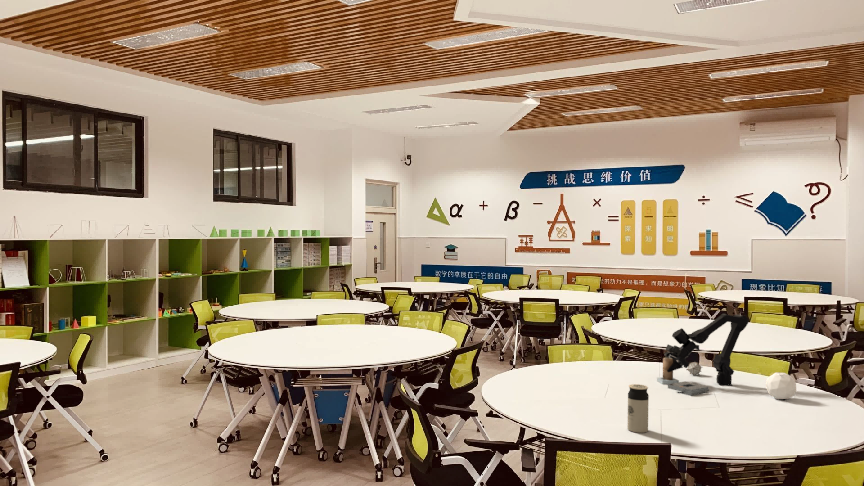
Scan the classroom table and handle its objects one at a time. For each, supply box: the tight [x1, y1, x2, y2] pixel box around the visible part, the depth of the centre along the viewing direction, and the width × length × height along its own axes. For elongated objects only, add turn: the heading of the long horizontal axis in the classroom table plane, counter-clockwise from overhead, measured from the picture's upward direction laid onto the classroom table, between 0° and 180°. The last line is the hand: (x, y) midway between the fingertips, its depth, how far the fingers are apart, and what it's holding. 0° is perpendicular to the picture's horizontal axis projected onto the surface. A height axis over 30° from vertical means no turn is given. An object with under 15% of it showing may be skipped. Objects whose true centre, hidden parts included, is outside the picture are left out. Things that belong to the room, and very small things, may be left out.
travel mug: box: [627, 383, 650, 434], centre depth 255 cm, size 8×8×18 cm
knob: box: [662, 357, 674, 380], centre depth 338 cm, size 5×5×13 cm
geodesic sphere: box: [765, 371, 797, 400], centre depth 310 cm, size 14×14×14 cm
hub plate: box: [667, 381, 710, 397], centre depth 324 cm, size 14×14×3 cm
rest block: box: [656, 377, 680, 385], centre depth 339 cm, size 9×7×3 cm
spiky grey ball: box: [685, 361, 702, 377], centre depth 364 cm, size 9×8×10 cm
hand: (665, 370), depth 338 cm, fingers closed on knob, 5 cm apart
